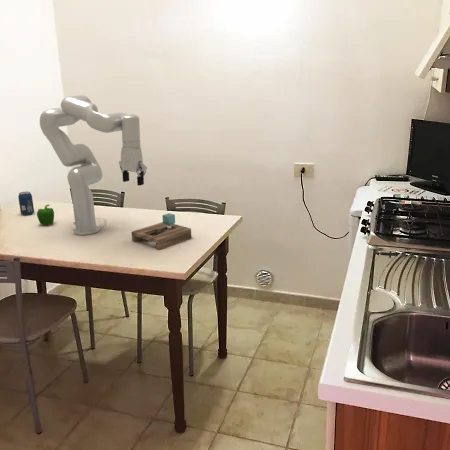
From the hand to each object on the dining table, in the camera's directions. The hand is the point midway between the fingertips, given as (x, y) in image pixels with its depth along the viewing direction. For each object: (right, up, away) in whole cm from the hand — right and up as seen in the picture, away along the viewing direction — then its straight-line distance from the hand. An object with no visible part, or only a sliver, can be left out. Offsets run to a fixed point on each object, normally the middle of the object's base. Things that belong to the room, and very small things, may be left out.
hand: (133, 183), depth 222 cm
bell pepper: (-50, -18, +35) cm, 64 cm away
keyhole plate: (+12, -25, +8) cm, 29 cm away
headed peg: (+15, -24, +12) cm, 30 cm away
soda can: (-67, -13, +54) cm, 87 cm away
